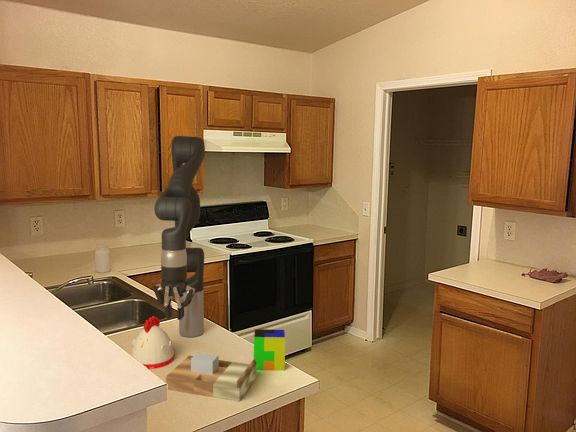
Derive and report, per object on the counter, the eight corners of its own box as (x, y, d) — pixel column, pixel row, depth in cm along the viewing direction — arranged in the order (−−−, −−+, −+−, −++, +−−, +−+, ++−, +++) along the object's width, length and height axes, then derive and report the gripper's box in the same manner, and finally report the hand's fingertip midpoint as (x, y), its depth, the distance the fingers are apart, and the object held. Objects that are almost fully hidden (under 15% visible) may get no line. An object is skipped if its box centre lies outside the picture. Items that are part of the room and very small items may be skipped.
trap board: (188, 367, 157) (188, 349, 156) (256, 377, 151) (256, 359, 150) (166, 389, 142) (165, 370, 141) (239, 401, 136) (239, 381, 136)
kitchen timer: (122, 364, 157) (120, 320, 155) (147, 348, 170) (147, 307, 168) (158, 372, 153) (157, 327, 151) (181, 355, 166) (181, 313, 163)
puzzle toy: (283, 357, 166) (284, 329, 164) (284, 370, 156) (285, 341, 154) (254, 357, 165) (254, 329, 164) (253, 370, 156) (253, 341, 154)
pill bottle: (92, 272, 266) (91, 246, 264) (100, 269, 274) (99, 243, 272) (105, 273, 265) (105, 246, 263) (113, 269, 273) (112, 243, 271)
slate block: (197, 364, 150) (197, 352, 149) (218, 367, 148) (218, 355, 147) (191, 371, 145) (190, 358, 145) (212, 374, 144) (212, 361, 143)
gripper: (201, 262, 146) (201, 316, 149) (159, 258, 150) (160, 311, 152) (189, 268, 139) (190, 325, 142) (146, 264, 143) (147, 320, 145)
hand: (174, 318), depth 147 cm, fingers open, 3 cm apart
